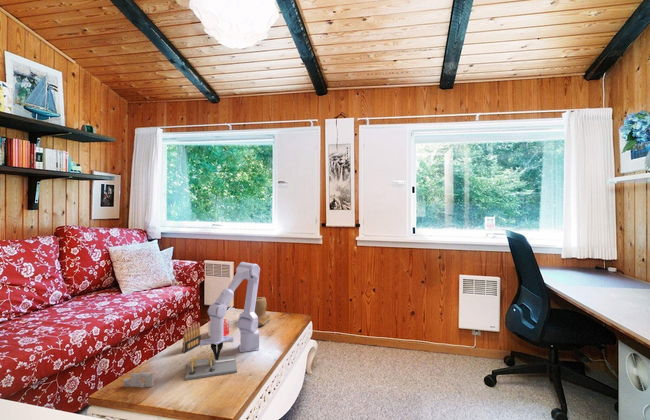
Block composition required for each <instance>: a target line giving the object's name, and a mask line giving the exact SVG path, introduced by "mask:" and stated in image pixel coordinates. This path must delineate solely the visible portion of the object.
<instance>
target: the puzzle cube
mask: <svg viewBox="0 0 650 420" xmlns="http://www.w3.org/2000/svg"><path fill="white" fill-rule="evenodd" d="M207 326H208V327H207V331H208V332H207V333H208V334H207V335H208V336H209V337H210V320H208V323H207ZM229 334H230V320H229V319H226V318H224V325H223V337H226V336H229Z"/></svg>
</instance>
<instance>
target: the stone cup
mask: <svg viewBox="0 0 650 420" xmlns="http://www.w3.org/2000/svg"><path fill="white" fill-rule="evenodd" d="M267 303H268V302H267V299H266V297H265V296H262V297H261V296H258V297H256V304H255V311H254V312H255V314H256V315H257V316H258V327H261V326H263V325H265V324H266V323H267V322H269V320H270V319H271V315H266V311H267V306H268V305H267Z"/></svg>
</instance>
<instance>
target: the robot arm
mask: <svg viewBox="0 0 650 420" xmlns="http://www.w3.org/2000/svg"><path fill="white" fill-rule="evenodd" d="M235 270H236V271H235V272H236V273H235V274H234V276H233V278H232V280H231V281H230V283H229V285H228V287H227V288H225V289H223V290H222V291H221V292H220V294H219V296H218V297H217V299H216V300H215V301H214V302H213V303H212V304H210V305H209V307H208V309H207V311H206V312H207V315H208V316H209V319H210V320H209V321H210V336H209V337H208V338H205V339H201V340H200V345H199V347H202V346H207V345H208V346H209V345H210V349H211V350H212V353H214V358H215V360H218V358H219V357H220V353H221V351H222V349H223V346H224V344H225V343H234V336H223V325H224V319H225V317H224V316H225V315H226V314H227V310H228V307H229V304H230V302H231V301H232V300H233V298H234V296H235V294H234V292H235V291H236V290H237V288H238V287H239V286H240V284H241V283H242V281H244V280H247V285H246V293H245V301H244V306H243V311H242V312H241V313H240V314H239V316H238V317H239V318H238V320H237V323H236V325H237V328H238V331H239V332H240V335H239V337H240V344H239V345H238V347H239V353H243V352H244V353H245V352H251V351H259V350H260V331H259V329H258V327H259V326H258V316H257V315H256V314H255V312H254V311H255V304H256V298H257V295H258V289H259V281H260V272H261V268H260V265H258V264H257V263H250V262H245V261H241V262H240V263H239V264H238V265H237V267H236V269H235Z"/></svg>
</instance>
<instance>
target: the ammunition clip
mask: <svg viewBox="0 0 650 420" xmlns="http://www.w3.org/2000/svg"><path fill="white" fill-rule="evenodd" d="M183 330H184V331H183V338H182V339H183V342H182V350H181V351H182V353H184V354H185V353H188V352H190V351H191V350H193V349H196V348H197V347H200V340H202V335H201V324H200V322H199V321H198V322H197V323H195V324H192V325H190V326H187V327H186V328H184V329H183Z"/></svg>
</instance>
